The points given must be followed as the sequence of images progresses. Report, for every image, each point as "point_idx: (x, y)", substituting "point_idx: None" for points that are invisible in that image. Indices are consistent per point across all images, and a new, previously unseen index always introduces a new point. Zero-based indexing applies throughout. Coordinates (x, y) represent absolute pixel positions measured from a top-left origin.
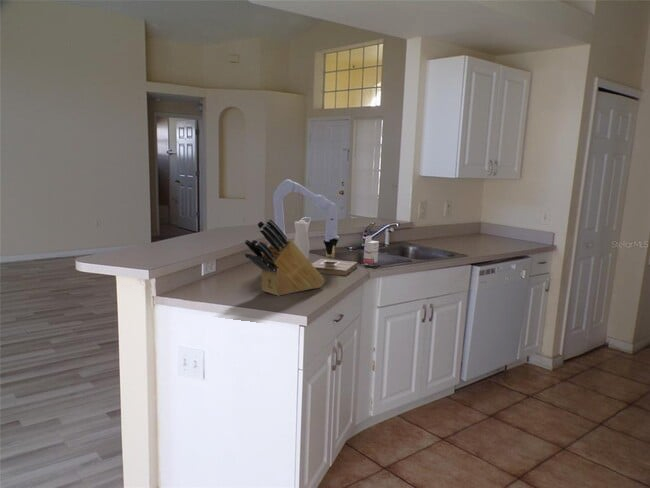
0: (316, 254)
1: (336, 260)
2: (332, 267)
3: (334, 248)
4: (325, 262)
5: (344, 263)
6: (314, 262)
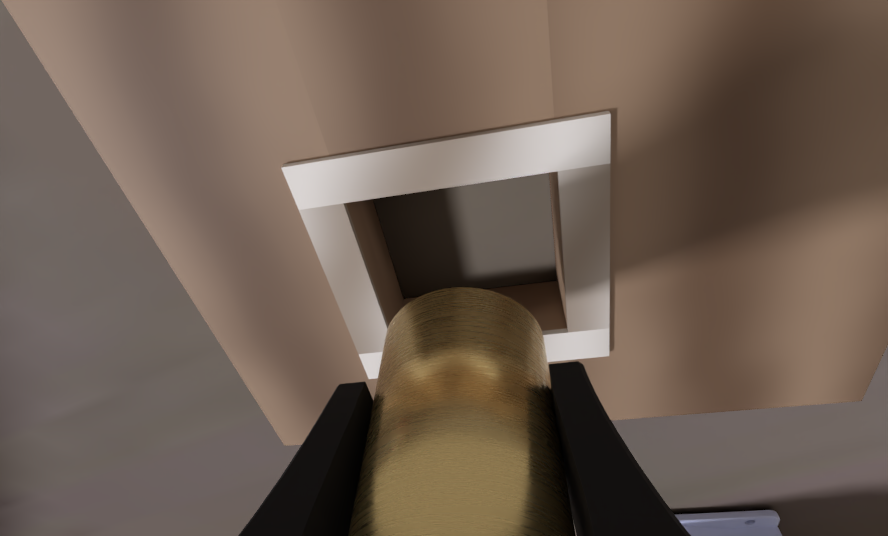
0: (14, 529)
1: (197, 279)
2: (853, 73)
3: (412, 473)
4: None
5: (296, 52)
6: None
